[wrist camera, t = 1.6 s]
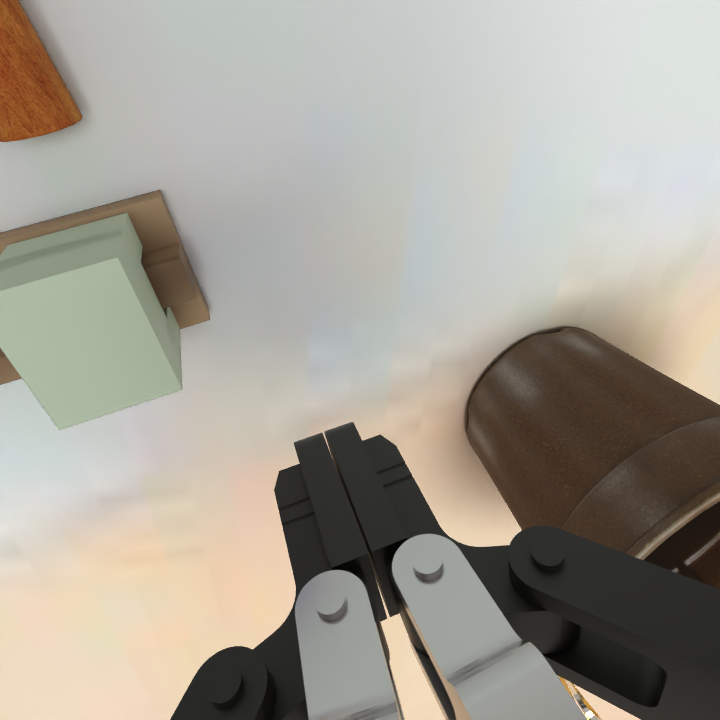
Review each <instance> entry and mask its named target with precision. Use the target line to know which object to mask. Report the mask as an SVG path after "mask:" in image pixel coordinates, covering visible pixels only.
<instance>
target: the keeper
mask: <svg viewBox="0 0 720 720" xmlns="http://www.w3.org/2000/svg"><path fill="white" fill-rule="evenodd" d="M142 249H143V246H142V244H141V242H140V239H139V237H138V235H137V233H136V231H135V228H134V226H133V224H132V222H131V220H130V217H129V215H128V213H124V214H120V215H116V216H113V217H109V218H105V219H102V220H98V221H94V222H91V223H87V224H83V225H80V226H76V227H73V228H69V229H65V230H62V231H58V232H54V233H51V234H47V235H43V236H40V237H36V238H32V239H29V240H25V241H21V242H18V243H14V244H10V245H7V247H6V248H5V249H4V251H3V252H2V253H1V255H0V348H1V349H2V351H3V352H4V354H5V355H6V356H7V358H8V359H9V361H10V362H11V363H12V365H13V366H14V368H15V369H16V370H17V372H18V373H19V375H20V376H21V377H22V379H23V380H24V382H25V383H26V385H27V386H28V387H29V389H30V390H31V392H32V393H33V394H34V396H35V397H36V399H37V400H38V401H39V403H40V404H41V406H42V407H43V409H44V410H45V411H46V413H47V414H48V416H49V417H50V418H51V420H52V421H53V423H54V424H55V425H56V427H57V428H58V430H61V429H64V428H67V427H70V426H73V425H76V424H79V423H82V422H85V421H88V420H91V419H95V418H98V417H101V416H104V415H107V414H110V413H113V412H116V411H119V410H122V409H125V408H128V407H131V406H134V405H137V404H140V403H143V402H146V401H149V400H152V399H155V398H158V397H162V396H165V395H168V394H171V393H174V392H177V391H180V390H182V369H181V346H180V328H179V325H178V323H177V321H176V319H175V317H174V314H173V312H172V310H171V308H170V307H167V308H164V309H162V307H161V305H160V303H159V300H158V298H157V296H156V294H155V292H154V290H153V287H152V285H151V283H150V281H149V279H148V277H147V275H146V272H145V270H144V268H143V266H142V264H141V258H142Z"/></svg>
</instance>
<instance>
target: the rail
mask: <svg viewBox="0 0 720 720" xmlns="http://www.w3.org/2000/svg"><path fill="white" fill-rule="evenodd" d="M124 213H128V215H129V217H130V220H131V222H132V224H133V226H134V228H135V231H136V233H137V235H138V237H139V239H140V242H141V244H142V246H143V249H142V258H141V264H142V266H143V268H144V270H145V272H146V275H147V277H148V279H149V281H150V283H151V285H152V287H153V290H154V292H155V294H156V296H157V298H158V300H159V303H160V305H161V307H162V309H164V308H167V307H170V308H171V310H172V312H173V314H174V317H175V319H176V321H177V323H178V325H179V328H180V329H182V328H185V327H188V326H191V325H195V324H198V323H201V322H204V321H207V320H210V315H209V309H208V307H207V304H206V302H205V299H204V297H203V294H202V292H201V289H200V287H199V284H198V282H197V279H196V277H195V274H194V272H193V270H192V267H191V265H190V262H189V260H188V257H187V255H186V252H185V250H184V247H183V245H182V242H181V240H180V237H179V235H178V233H177V230H176V228H175V225H174V223H173V220H172V218H171V215H170V213H169V210H168V208H167V205H166V203H165V200H164V198H163V196H162V193H161V191H160V190H158V191H155V192H151V193H147V194H144V195H140V196H136V197H132V198H129V199H125V200H121V201H118V202H114V203H110V204H106V205H103V206H99V207H95V208H92V209H88V210H84V211H81V212H77V213H73V214H69V215H66V216H62V217H58V218H55V219H51V220H47V221H44V222H40V223H36V224H32V225H29V226H25V227H21V228H18V229H14V230H10V231H6V232H3V233H0V255H1V253H2V252H3V251H4V249H5V248H6V247H7V245H10V244H14V243H18V242H21V241H25V240H29V239H32V238H36V237H40V236H43V235H47V234H51V233H54V232H58V231H62V230H65V229H69V228H73V227H76V226H80V225H83V224H87V223H91V222H94V221H98V220H102V219H105V218H109V217H113V216H116V215H120V214H124ZM21 378H22V377H21V376H20V375H19V373H18V372H17V370H16V369H15V368H14V366H13V365H12V363H11V362H10V361H9V359H8V358H7V356H6V355H5V354H4V352H3V351H2V349H1V348H0V385H2V384H5V383H8V382H11V381H14V380H18V379H21Z"/></svg>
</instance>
